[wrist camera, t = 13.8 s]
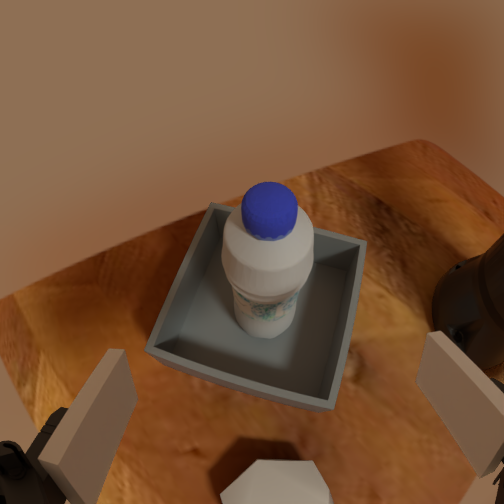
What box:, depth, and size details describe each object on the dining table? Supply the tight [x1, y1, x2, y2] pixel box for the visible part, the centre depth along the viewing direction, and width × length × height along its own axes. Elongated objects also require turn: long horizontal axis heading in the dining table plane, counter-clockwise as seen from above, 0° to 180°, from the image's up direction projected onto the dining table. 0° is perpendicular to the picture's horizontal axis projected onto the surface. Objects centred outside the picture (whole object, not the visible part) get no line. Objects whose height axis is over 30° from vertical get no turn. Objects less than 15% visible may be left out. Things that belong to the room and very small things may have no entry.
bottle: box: [221, 182, 314, 339], centre depth 27 cm, size 7×7×20 cm
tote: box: [144, 202, 367, 413], centre depth 33 cm, size 18×18×7 cm
